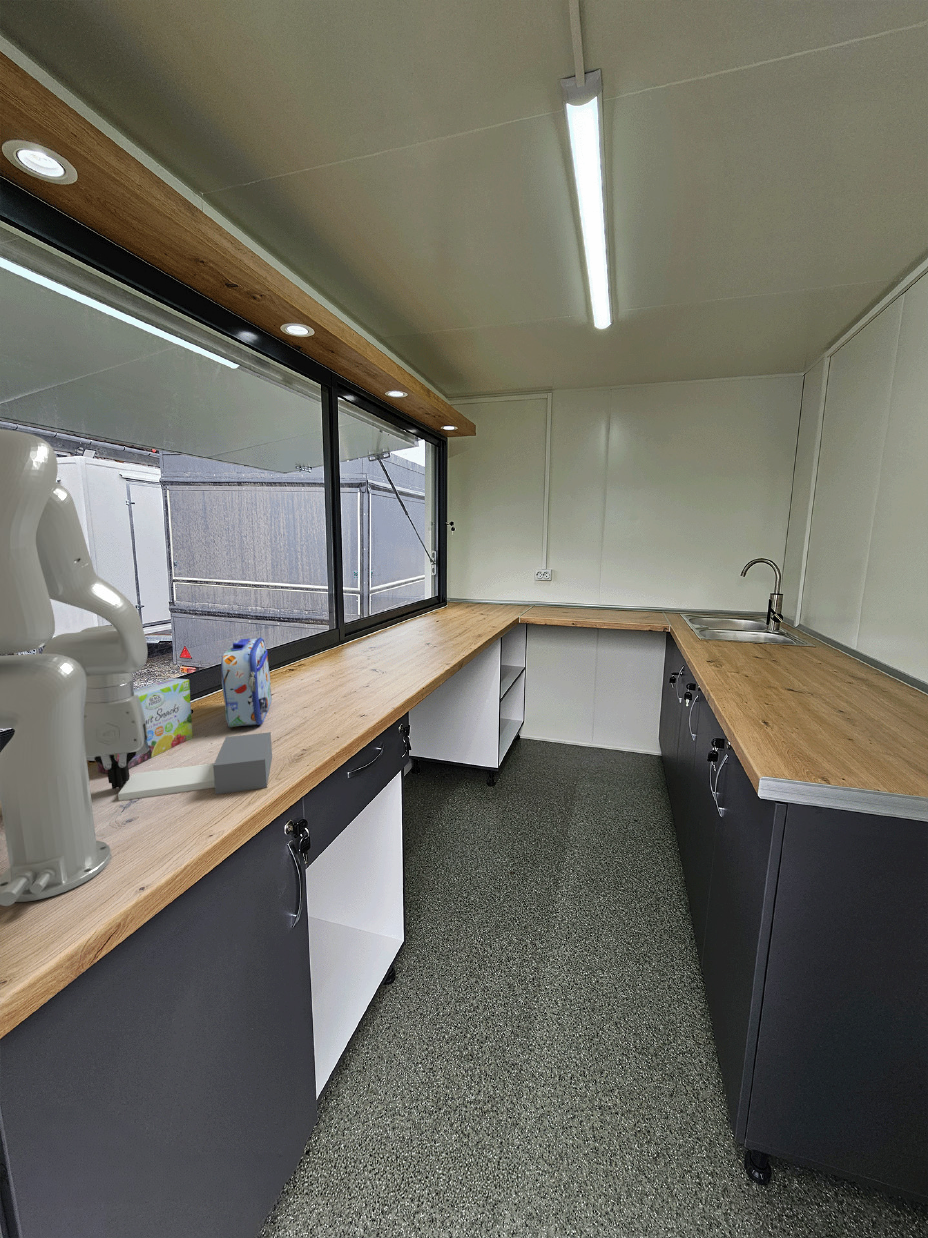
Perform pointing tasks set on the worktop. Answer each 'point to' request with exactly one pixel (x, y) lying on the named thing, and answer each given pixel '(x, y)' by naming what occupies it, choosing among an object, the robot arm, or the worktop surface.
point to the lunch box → (246, 682)
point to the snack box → (163, 717)
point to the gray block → (243, 763)
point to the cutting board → (168, 781)
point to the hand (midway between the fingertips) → (119, 785)
